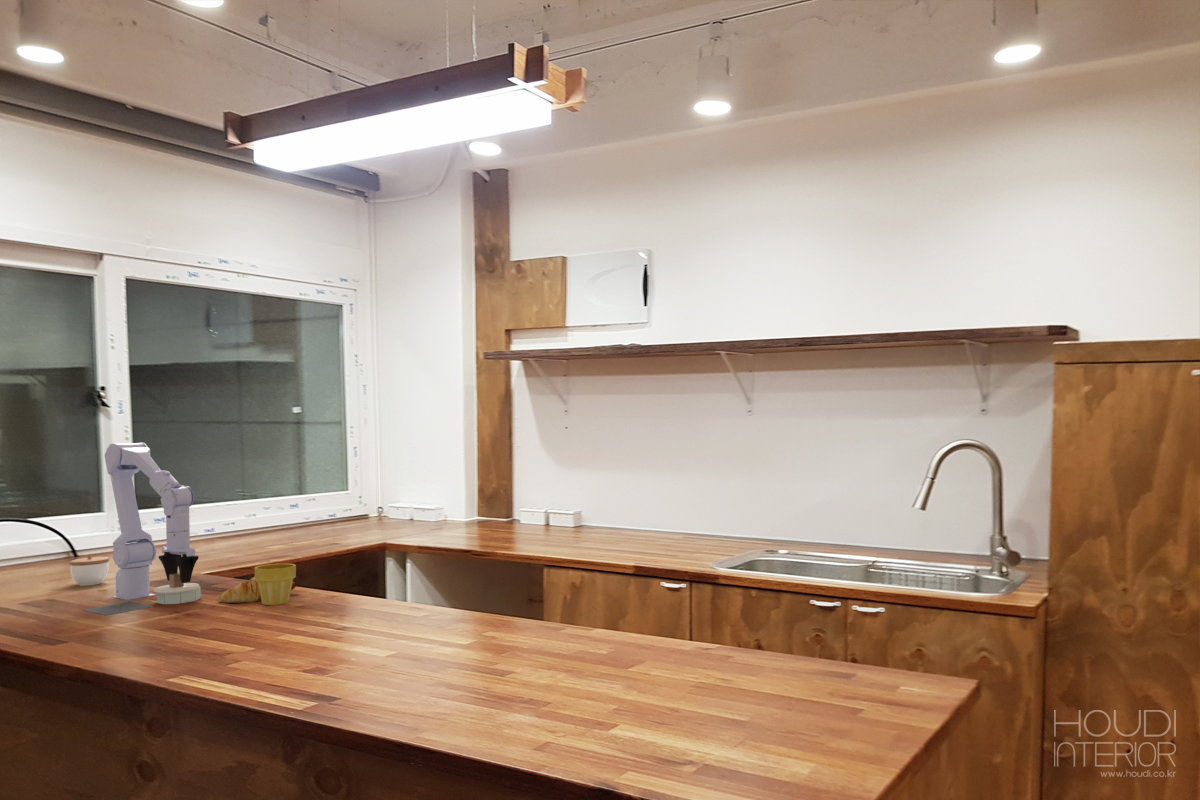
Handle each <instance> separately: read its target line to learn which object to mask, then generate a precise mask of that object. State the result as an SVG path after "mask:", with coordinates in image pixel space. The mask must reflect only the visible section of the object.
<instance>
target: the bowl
mask: <svg viewBox="0 0 1200 800" xmlns="http://www.w3.org/2000/svg"><path fill="white" fill-rule="evenodd" d="M201 588H202V586H199V588H198V589H196V590H192V591H187V592H180V593H170V594H157V593H156V603H157V604H160V605H177V604H179V605H180V604H185V603H190V602H195V601H199V600H200V599H201V598H202V594H201V593H202V591H201Z"/></svg>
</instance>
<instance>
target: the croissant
mask: <svg viewBox="0 0 1200 800" xmlns="http://www.w3.org/2000/svg"><path fill="white" fill-rule="evenodd" d="M296 587H297V582H295V581H293V583H292V587H291V591H293V590H294V589H295V588H296ZM216 599H217V602H219V603H229V604H234V603H236V604H240V603H255V602H262V600H261V596H260V591H259V586H258V582H257V581H256V580H255V576H254V577H252V578H250V579H249V580H247V581H246V580H245V581H243V582H240V583H239V584H238V585H236V586H234V587H230V588H228V589H227V590H226V591H224V592H223V593H220V594H218V595H217V596H216Z"/></svg>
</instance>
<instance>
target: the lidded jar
mask: <svg viewBox="0 0 1200 800" xmlns="http://www.w3.org/2000/svg"><path fill="white" fill-rule="evenodd" d="M69 566H70V567H69V568H70V569H69V570H70V576H71V578H72V580H73V581H74V582H75V583H76V584H78V587H79V586H82V587H84V586H95V585H99V584H100V585H101V584H102V582H103V581H104V580H105V578H106V577H107V575H108V573H109V568H110V557H107V556H92V553H88V554H87V557H82V558H75V559H72V560H70V561H69Z"/></svg>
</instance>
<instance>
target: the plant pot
mask: <svg viewBox="0 0 1200 800" xmlns="http://www.w3.org/2000/svg"><path fill="white" fill-rule="evenodd" d="M296 573H297V565H296V564H294V563H284V562H283V563H270V564H269V563H268V564H262V565H257V566H255V567H254V577H255V580H256V581H257V582H258V586H259V591H260V596H261V600H262V601H261V604H262V605H265V606H274V605H275V606H277V605H284V604H288V603H289V602H290V597H291V592H292V590H291V587H292V583H293V582H294V579H295V578H296V575H297V574H296Z"/></svg>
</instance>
